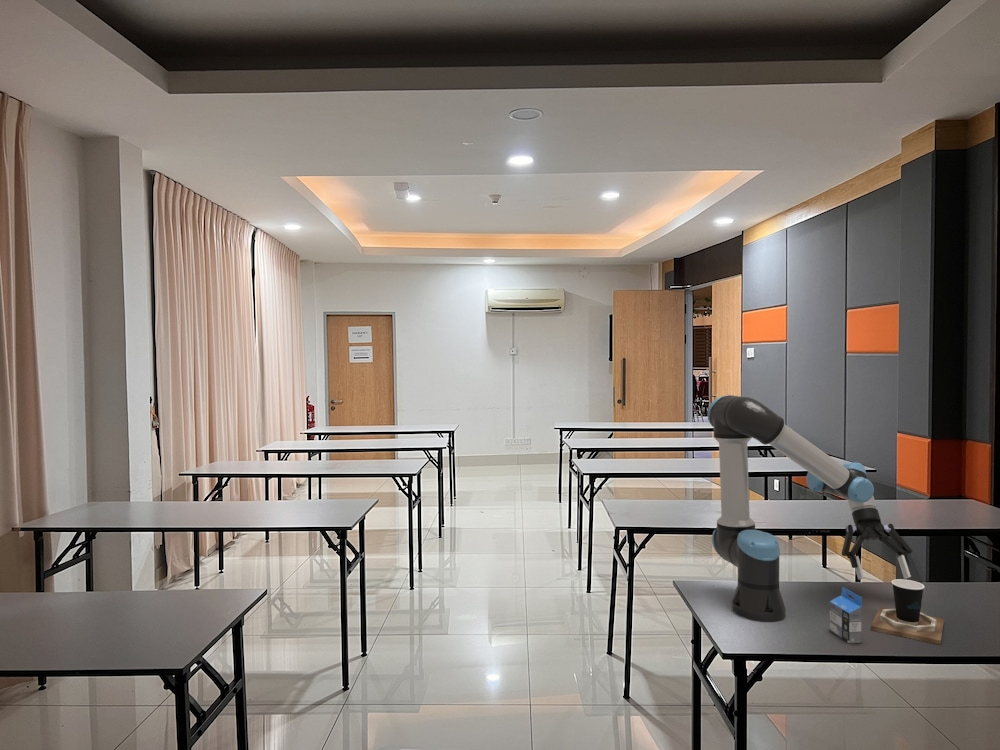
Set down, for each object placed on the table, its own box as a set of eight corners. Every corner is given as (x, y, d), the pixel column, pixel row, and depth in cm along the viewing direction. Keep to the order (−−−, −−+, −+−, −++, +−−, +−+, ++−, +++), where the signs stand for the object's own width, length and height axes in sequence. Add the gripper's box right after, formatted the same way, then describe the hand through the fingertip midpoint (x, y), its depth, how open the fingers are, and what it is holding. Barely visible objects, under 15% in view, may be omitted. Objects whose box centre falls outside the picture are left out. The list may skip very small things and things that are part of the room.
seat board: (871, 630, 179) (871, 620, 179) (879, 610, 193) (879, 602, 193) (940, 644, 169) (940, 635, 169) (944, 623, 184) (944, 614, 183)
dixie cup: (898, 614, 187) (898, 577, 187) (929, 623, 180) (929, 584, 180) (886, 621, 182) (886, 582, 182) (917, 630, 176) (917, 590, 176)
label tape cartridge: (828, 630, 179) (828, 586, 179) (841, 629, 179) (841, 586, 179) (848, 644, 170) (848, 597, 170) (862, 643, 171) (862, 597, 170)
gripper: (898, 513, 207) (920, 580, 197) (820, 515, 209) (837, 581, 198) (910, 505, 201) (933, 574, 190) (828, 507, 202) (847, 576, 192)
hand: (884, 578), depth 194 cm, fingers open, 13 cm apart
